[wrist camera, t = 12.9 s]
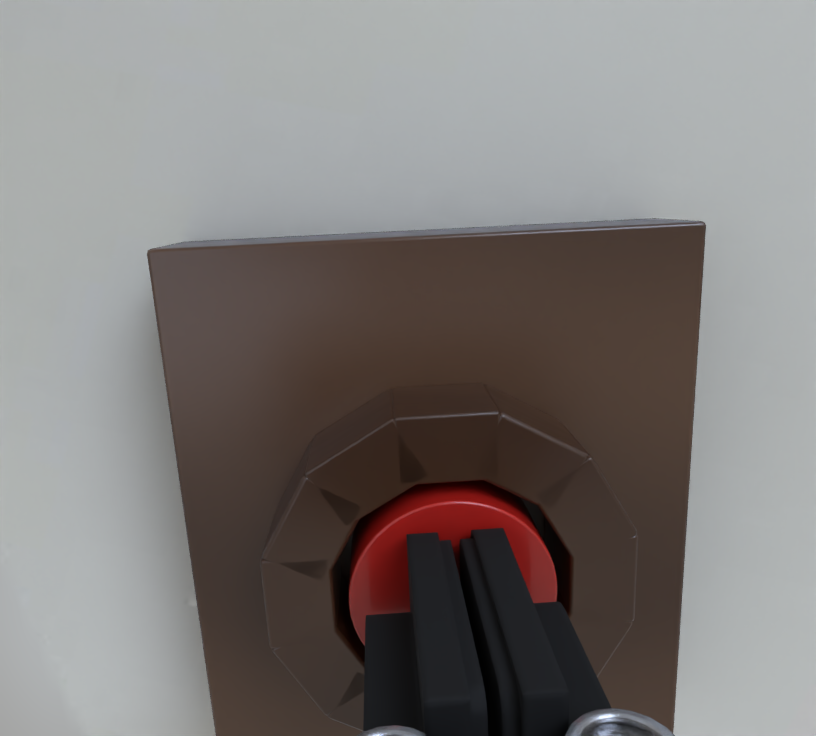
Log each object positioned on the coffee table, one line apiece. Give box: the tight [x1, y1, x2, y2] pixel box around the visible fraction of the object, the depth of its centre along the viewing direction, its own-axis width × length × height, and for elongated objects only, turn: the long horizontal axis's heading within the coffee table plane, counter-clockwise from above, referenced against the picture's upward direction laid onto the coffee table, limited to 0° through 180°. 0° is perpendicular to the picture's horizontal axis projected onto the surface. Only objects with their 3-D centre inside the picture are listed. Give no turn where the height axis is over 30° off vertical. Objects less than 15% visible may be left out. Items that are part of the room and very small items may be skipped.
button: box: [349, 480, 558, 646], centre depth 12 cm, size 4×4×2 cm
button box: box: [147, 218, 706, 736], centre depth 13 cm, size 12×10×4 cm
